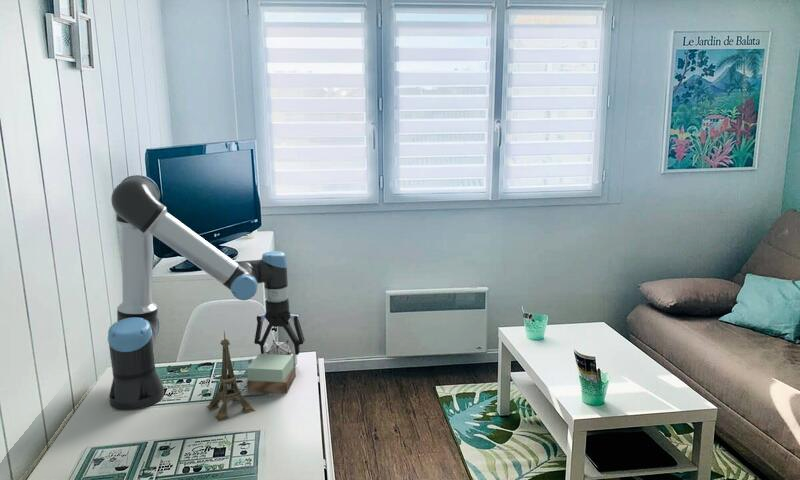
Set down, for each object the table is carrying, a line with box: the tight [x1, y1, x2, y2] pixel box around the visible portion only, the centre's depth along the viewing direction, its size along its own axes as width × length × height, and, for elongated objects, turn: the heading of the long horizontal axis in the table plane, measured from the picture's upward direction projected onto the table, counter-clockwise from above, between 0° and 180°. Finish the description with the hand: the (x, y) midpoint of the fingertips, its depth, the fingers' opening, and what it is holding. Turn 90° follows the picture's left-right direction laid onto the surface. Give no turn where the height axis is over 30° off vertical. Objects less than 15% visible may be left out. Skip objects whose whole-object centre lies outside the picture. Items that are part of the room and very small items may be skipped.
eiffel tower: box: [206, 331, 256, 422], centre depth 185 cm, size 11×11×25 cm
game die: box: [266, 339, 293, 355], centre depth 216 cm, size 9×8×10 cm
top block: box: [246, 353, 295, 382], centre depth 201 cm, size 11×11×4 cm
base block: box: [246, 365, 297, 394], centre depth 202 cm, size 12×12×4 cm
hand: (280, 363), depth 217 cm, fingers open, 9 cm apart
